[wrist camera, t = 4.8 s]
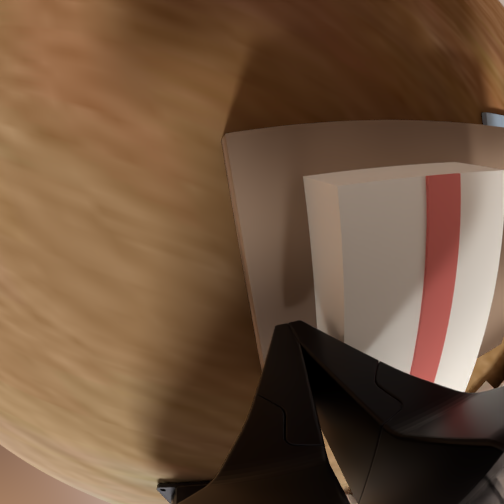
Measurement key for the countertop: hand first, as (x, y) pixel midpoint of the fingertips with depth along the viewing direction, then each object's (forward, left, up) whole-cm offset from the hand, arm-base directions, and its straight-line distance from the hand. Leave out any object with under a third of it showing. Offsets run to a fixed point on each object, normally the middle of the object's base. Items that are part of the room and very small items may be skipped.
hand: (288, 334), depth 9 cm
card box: (0, -4, -1) cm, 4 cm away
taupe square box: (0, -6, -5) cm, 8 cm away
